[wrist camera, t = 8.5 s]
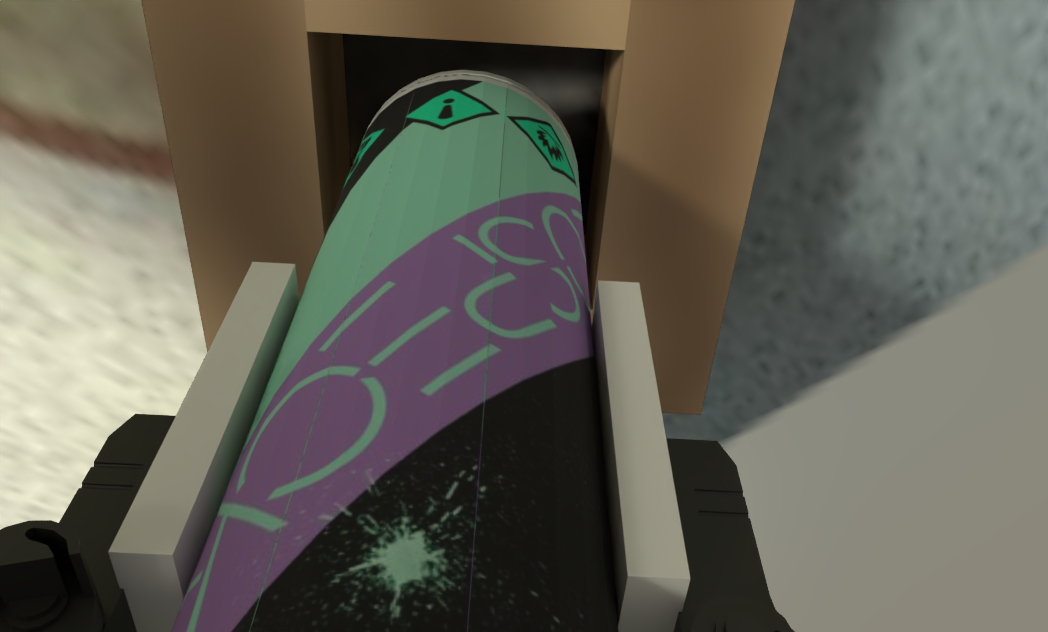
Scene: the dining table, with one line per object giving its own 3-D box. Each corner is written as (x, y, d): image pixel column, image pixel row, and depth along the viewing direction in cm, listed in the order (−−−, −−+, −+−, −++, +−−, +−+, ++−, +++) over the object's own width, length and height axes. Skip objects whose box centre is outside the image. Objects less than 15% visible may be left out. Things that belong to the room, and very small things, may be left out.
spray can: (618, 204, 23) (831, 1535, 6) (445, 300, 24) (259, 1536, 8) (497, 22, 20) (325, 1496, 4) (313, 145, 22) (-356, 1507, 5)
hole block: (251, 311, 29) (214, 391, 25) (178, -183, 21) (112, -159, 17) (681, 333, 29) (700, 414, 26) (775, -144, 21) (820, -113, 18)
